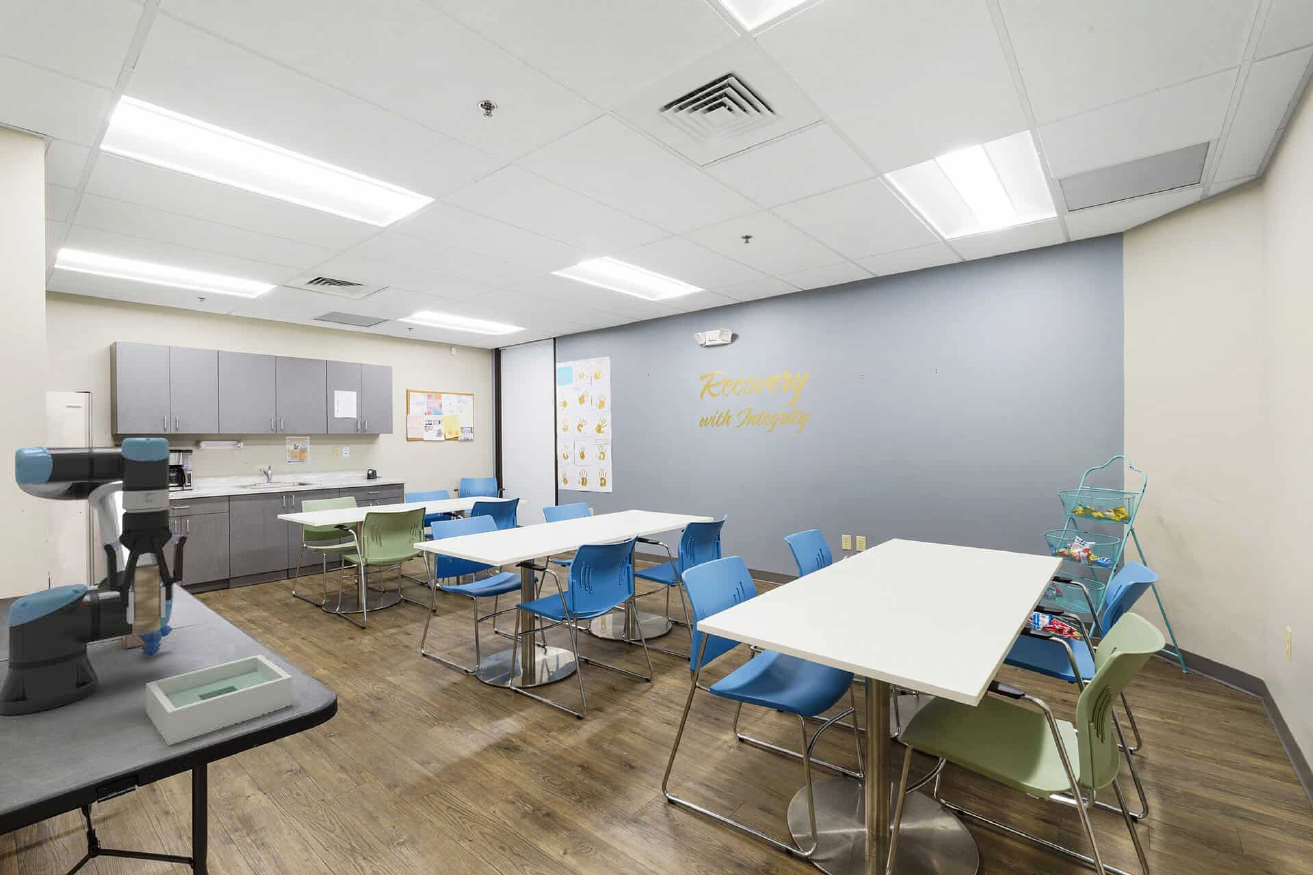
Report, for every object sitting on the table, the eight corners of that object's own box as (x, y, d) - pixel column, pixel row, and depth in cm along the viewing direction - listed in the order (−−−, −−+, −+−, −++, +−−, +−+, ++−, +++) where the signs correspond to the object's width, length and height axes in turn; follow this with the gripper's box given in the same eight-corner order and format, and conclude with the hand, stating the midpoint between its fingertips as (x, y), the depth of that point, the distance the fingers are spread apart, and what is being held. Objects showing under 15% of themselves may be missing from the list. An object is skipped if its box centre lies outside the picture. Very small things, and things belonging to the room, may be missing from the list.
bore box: (168, 745, 104) (168, 712, 104) (146, 712, 116) (146, 683, 116) (292, 705, 119) (292, 676, 119) (260, 680, 132) (260, 654, 132)
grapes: (176, 656, 146) (176, 610, 146) (141, 664, 141) (140, 616, 141) (169, 645, 154) (169, 601, 154) (135, 652, 149) (135, 607, 149)
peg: (134, 636, 118) (134, 569, 118) (130, 632, 121) (130, 566, 121) (162, 631, 121) (162, 565, 121) (157, 626, 124) (157, 562, 124)
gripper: (91, 515, 112) (91, 633, 112) (201, 507, 125) (202, 612, 125) (86, 512, 117) (86, 626, 117) (193, 504, 130) (193, 606, 130)
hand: (146, 618), depth 121 cm, fingers closed on peg, 4 cm apart
